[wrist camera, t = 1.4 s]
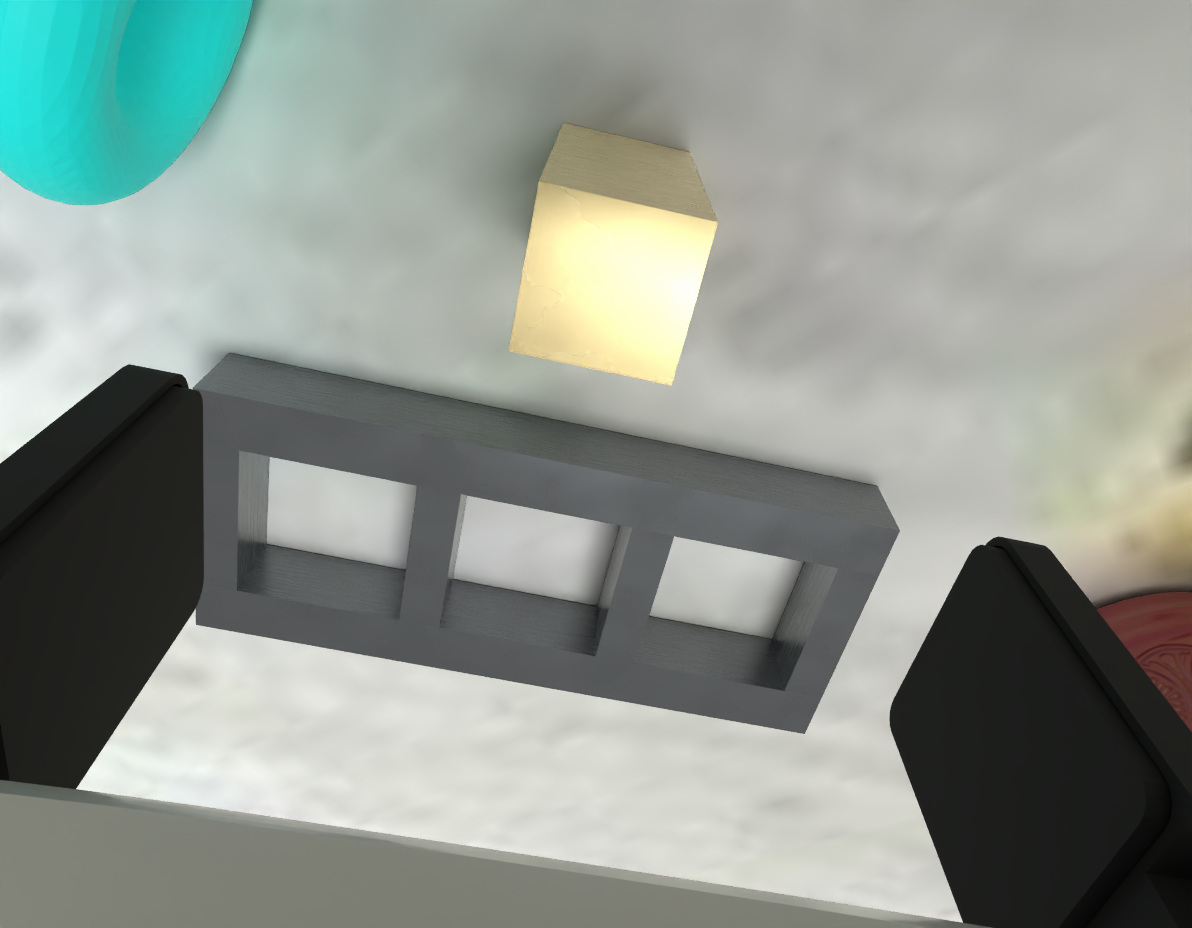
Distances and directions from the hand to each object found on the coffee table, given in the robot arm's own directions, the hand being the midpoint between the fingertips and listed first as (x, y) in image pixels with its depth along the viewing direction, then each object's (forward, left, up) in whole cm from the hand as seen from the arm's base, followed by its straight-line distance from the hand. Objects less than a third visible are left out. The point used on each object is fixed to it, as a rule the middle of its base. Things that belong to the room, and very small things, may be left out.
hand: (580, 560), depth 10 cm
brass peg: (0, 0, -20) cm, 20 cm away
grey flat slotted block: (0, +13, -20) cm, 23 cm away
